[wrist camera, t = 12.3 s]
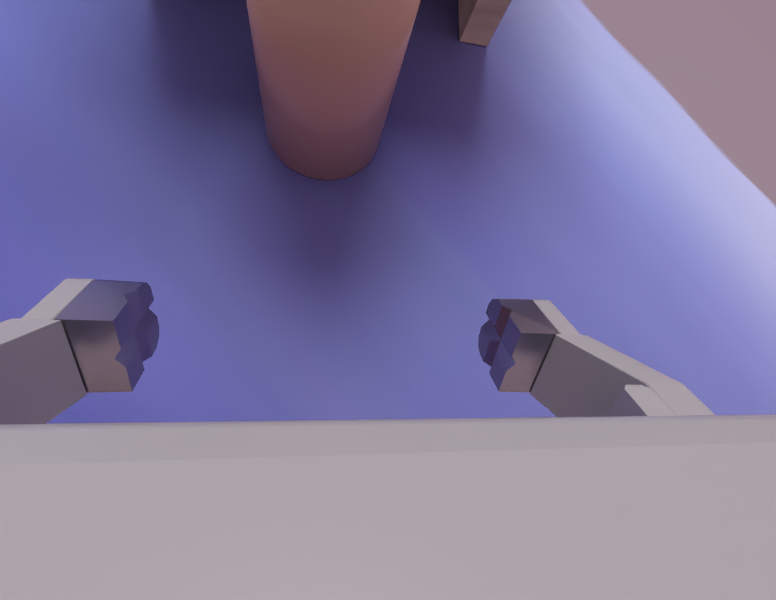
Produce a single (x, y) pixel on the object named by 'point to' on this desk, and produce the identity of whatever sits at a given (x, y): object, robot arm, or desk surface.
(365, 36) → the peach rounded capsule
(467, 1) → the wooden shelf
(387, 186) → the desk surface
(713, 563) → the robot arm
